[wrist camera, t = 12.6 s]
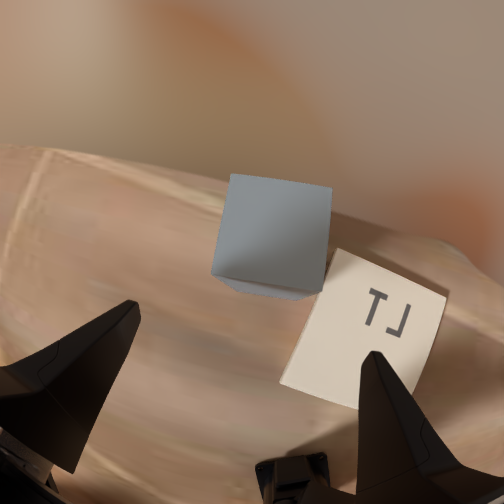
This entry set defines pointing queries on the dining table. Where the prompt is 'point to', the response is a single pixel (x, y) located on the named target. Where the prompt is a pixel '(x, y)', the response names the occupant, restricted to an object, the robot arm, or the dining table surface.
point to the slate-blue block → (273, 237)
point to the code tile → (362, 329)
